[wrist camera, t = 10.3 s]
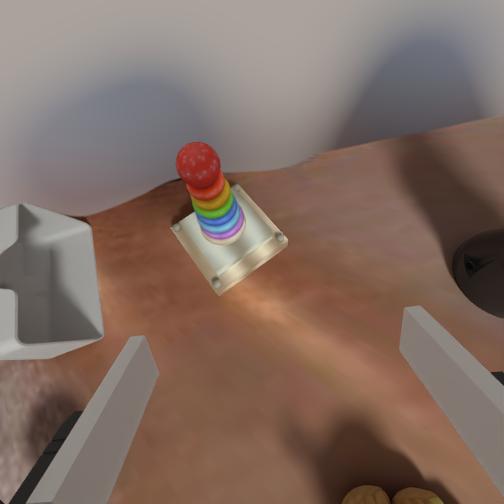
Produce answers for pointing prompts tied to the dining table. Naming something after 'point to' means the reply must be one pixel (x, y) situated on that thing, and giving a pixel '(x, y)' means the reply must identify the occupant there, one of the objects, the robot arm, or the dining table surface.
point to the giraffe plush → (375, 500)
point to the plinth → (242, 265)
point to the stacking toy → (210, 194)
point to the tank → (46, 284)
